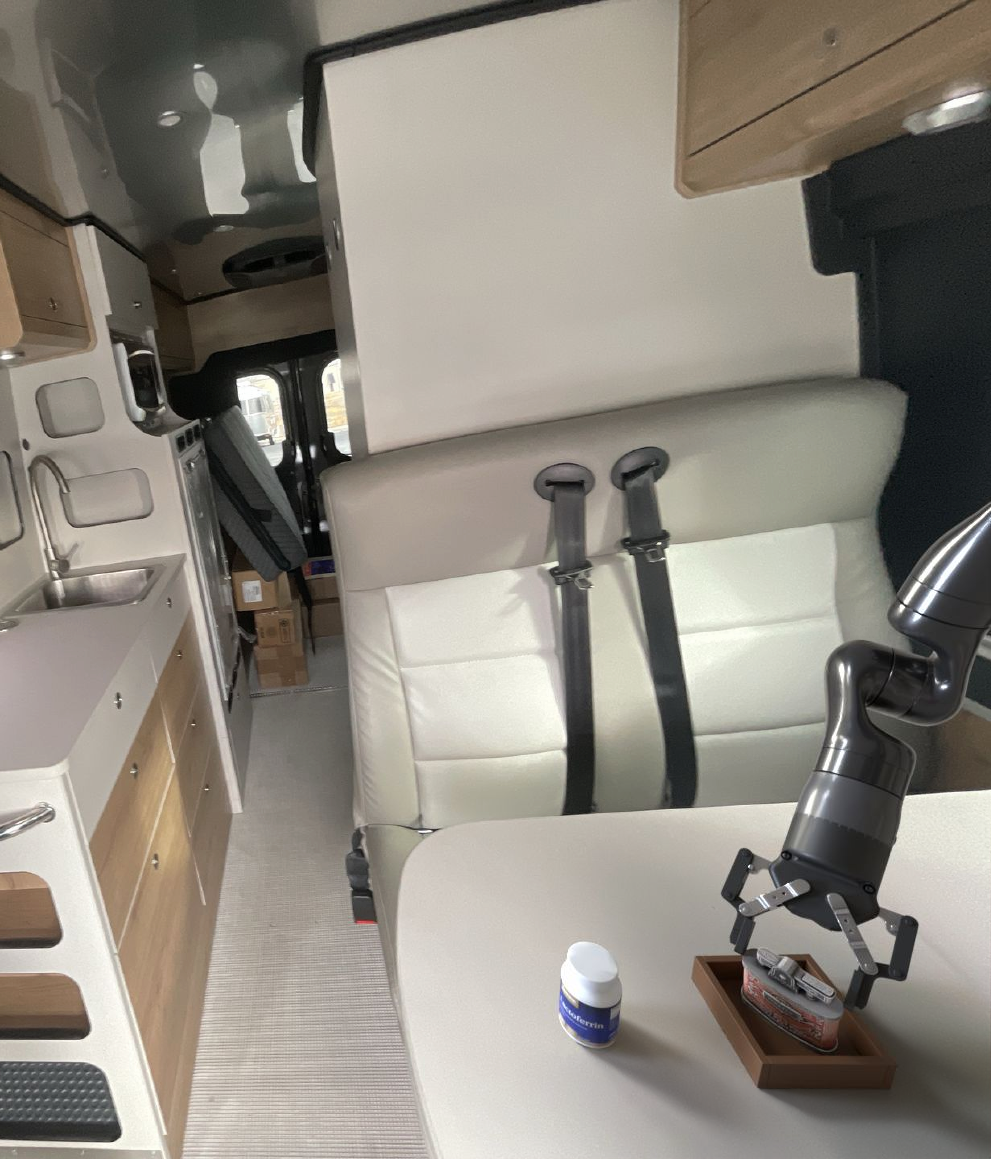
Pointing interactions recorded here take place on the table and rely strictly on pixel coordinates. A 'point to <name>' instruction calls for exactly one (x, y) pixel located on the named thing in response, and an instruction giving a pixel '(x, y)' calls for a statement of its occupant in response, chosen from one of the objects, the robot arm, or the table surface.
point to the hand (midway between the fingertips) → (790, 980)
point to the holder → (778, 1055)
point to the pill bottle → (590, 995)
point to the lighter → (791, 1000)
